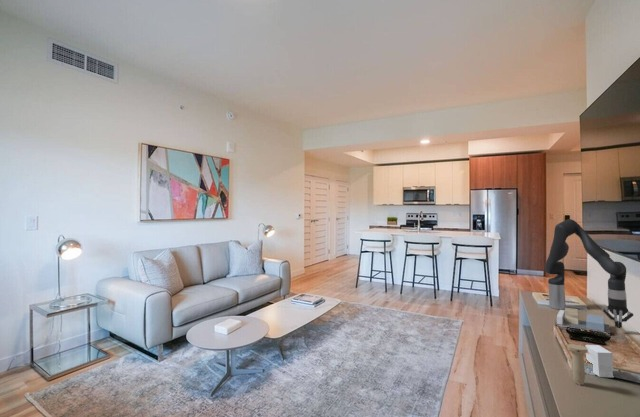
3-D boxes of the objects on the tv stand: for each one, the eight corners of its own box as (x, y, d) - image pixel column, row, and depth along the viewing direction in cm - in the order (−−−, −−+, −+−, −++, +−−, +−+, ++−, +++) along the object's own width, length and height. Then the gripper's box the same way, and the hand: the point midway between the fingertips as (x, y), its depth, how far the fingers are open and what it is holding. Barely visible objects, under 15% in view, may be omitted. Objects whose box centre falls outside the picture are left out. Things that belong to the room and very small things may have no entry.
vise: (558, 318, 196) (557, 309, 196) (609, 327, 180) (608, 317, 180) (555, 325, 185) (554, 316, 185) (609, 335, 168) (608, 325, 168)
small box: (614, 378, 127) (613, 353, 128) (598, 377, 129) (597, 352, 129) (600, 368, 135) (599, 344, 135) (586, 367, 136) (585, 344, 137)
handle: (590, 388, 121) (588, 351, 121) (570, 384, 124) (568, 347, 124) (588, 382, 125) (586, 346, 125) (568, 378, 128) (566, 343, 129)
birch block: (566, 320, 189) (565, 307, 189) (578, 322, 185) (578, 309, 185) (565, 322, 186) (564, 309, 186) (578, 324, 182) (577, 311, 182)
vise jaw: (587, 320, 186) (587, 313, 186) (604, 323, 181) (604, 316, 181) (586, 328, 175) (586, 321, 175) (604, 331, 169) (603, 324, 170)
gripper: (601, 296, 173) (602, 327, 173) (634, 300, 164) (635, 332, 164) (601, 294, 179) (602, 323, 179) (633, 297, 170) (634, 328, 169)
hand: (618, 327), depth 171 cm, fingers closed
